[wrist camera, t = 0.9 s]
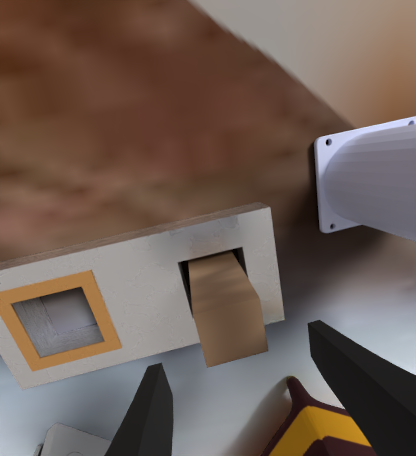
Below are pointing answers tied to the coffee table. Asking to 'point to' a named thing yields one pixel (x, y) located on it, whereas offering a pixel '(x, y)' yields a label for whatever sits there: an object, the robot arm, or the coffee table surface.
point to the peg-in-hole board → (127, 293)
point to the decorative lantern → (316, 429)
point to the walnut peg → (225, 309)
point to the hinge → (71, 443)
